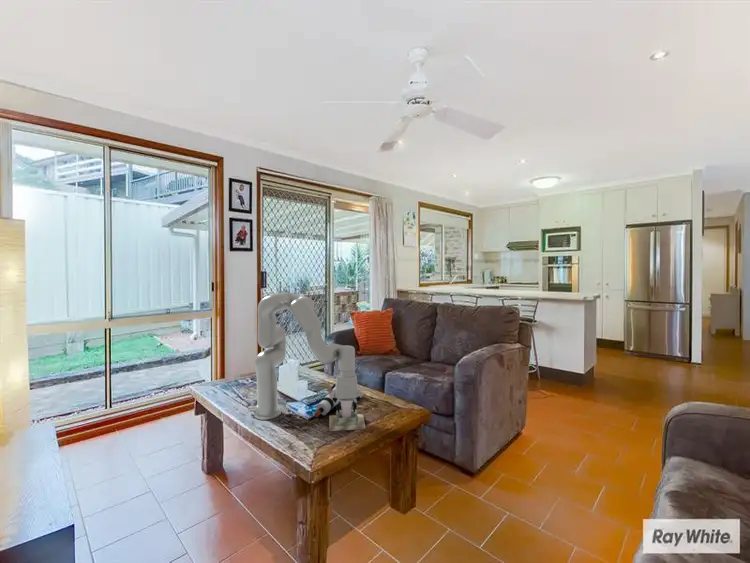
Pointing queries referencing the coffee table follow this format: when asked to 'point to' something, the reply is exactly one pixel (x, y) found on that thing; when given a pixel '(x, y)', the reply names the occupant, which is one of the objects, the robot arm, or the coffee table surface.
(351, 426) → the end holder
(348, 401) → the smoothie
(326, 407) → the white black banded cylinder
